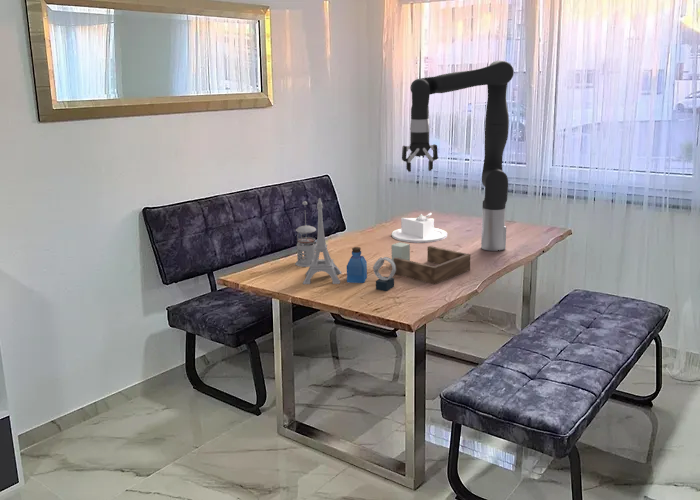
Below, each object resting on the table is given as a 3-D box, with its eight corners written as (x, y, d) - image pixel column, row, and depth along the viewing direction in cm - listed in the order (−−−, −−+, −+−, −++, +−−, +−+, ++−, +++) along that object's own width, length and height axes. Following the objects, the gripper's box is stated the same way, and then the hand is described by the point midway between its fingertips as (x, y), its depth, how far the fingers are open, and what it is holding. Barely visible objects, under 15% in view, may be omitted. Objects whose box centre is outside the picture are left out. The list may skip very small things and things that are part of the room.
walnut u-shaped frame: (470, 269, 254) (470, 254, 252) (434, 284, 239) (434, 268, 237) (429, 260, 267) (429, 245, 265) (393, 273, 252) (393, 258, 250)
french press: (301, 268, 261) (298, 205, 254) (289, 260, 271) (286, 199, 264) (323, 264, 266) (321, 202, 259) (311, 257, 275) (309, 197, 269)
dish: (455, 233, 308) (456, 208, 305) (431, 246, 288) (432, 220, 285) (408, 227, 321) (408, 203, 318) (381, 239, 301) (381, 214, 298)
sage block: (409, 264, 263) (409, 244, 261) (401, 267, 260) (401, 247, 257) (399, 261, 266) (399, 242, 264) (391, 264, 263) (391, 244, 261)
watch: (378, 284, 241) (378, 254, 238) (398, 287, 237) (398, 257, 234) (370, 288, 236) (370, 258, 233) (391, 292, 232) (391, 261, 229)
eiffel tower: (306, 273, 256) (302, 195, 247) (341, 272, 255) (339, 194, 247) (302, 284, 243) (298, 202, 235) (339, 284, 242) (337, 202, 234)
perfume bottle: (363, 283, 242) (363, 251, 239) (347, 282, 244) (346, 250, 240) (366, 277, 248) (366, 246, 245) (350, 277, 249) (349, 245, 246)
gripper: (404, 132, 264) (404, 173, 268) (439, 130, 266) (439, 171, 270) (400, 130, 271) (400, 170, 275) (434, 128, 273) (434, 168, 277)
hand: (419, 171), depth 273 cm, fingers open, 8 cm apart
